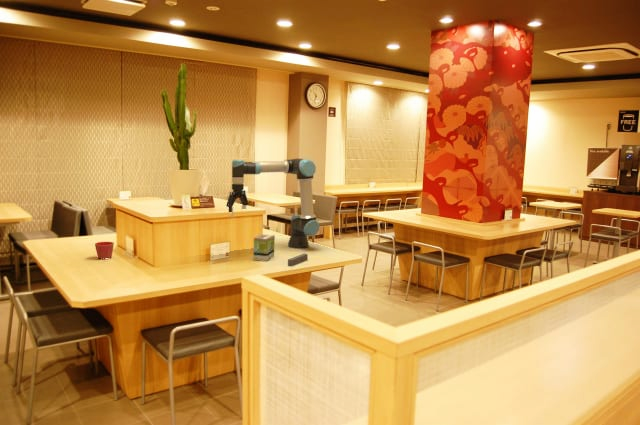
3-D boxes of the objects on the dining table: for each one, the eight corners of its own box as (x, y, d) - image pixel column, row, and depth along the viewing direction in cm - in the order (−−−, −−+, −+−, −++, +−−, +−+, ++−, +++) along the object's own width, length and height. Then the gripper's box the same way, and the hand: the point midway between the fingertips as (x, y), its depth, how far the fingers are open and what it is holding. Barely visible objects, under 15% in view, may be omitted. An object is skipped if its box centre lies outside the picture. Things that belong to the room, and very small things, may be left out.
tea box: (267, 261, 322) (268, 238, 320) (252, 260, 324) (253, 237, 322) (274, 256, 337) (274, 234, 335) (260, 255, 339) (260, 233, 336)
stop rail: (303, 259, 329) (303, 253, 329) (307, 260, 328) (307, 254, 328) (287, 265, 312) (287, 259, 311) (292, 266, 310) (292, 260, 310)
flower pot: (114, 259, 318) (113, 244, 316) (95, 260, 314) (94, 245, 312) (114, 255, 327) (113, 241, 326) (95, 256, 323) (95, 242, 322)
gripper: (244, 182, 337) (244, 213, 340) (220, 184, 315) (220, 217, 318) (253, 183, 334) (253, 214, 337) (230, 185, 312) (230, 218, 315)
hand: (237, 216), depth 328 cm, fingers open, 13 cm apart
